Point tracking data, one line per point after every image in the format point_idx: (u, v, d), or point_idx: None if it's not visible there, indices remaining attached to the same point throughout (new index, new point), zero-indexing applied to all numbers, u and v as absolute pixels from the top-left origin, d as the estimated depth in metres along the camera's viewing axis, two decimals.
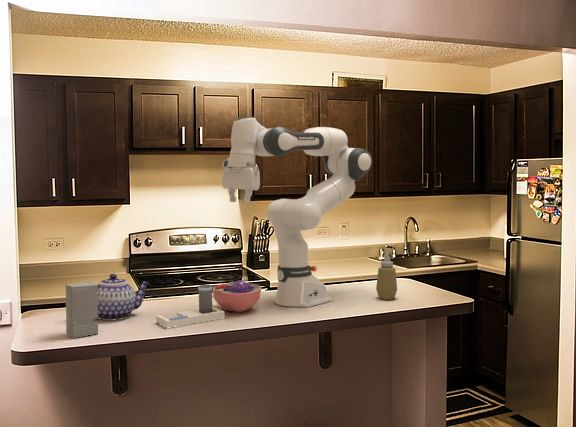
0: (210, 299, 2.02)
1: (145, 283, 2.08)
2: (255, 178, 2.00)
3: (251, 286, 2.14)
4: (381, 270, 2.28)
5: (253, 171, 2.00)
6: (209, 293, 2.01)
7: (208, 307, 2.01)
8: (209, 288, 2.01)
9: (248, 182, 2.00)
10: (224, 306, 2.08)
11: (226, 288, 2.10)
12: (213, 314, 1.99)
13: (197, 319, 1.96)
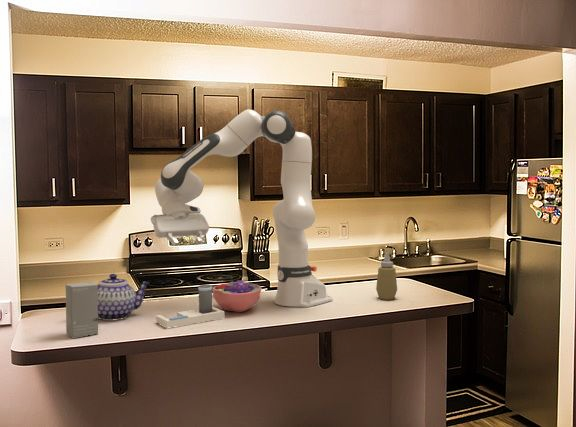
0: (210, 299, 2.02)
1: (145, 283, 2.08)
2: (154, 226, 2.10)
3: (251, 286, 2.14)
4: (381, 270, 2.28)
5: None
6: (209, 293, 2.01)
7: (208, 307, 2.01)
8: (209, 288, 2.01)
9: None
10: (224, 306, 2.08)
11: (226, 288, 2.10)
12: (213, 314, 1.99)
13: (197, 319, 1.96)
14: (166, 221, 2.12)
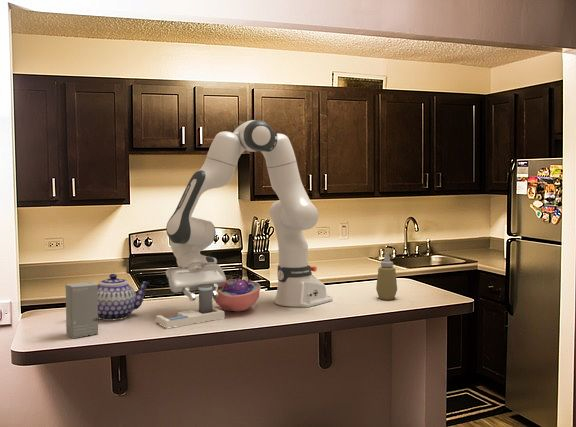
0: (210, 299, 2.02)
1: (145, 283, 2.08)
2: (169, 281, 2.01)
3: (250, 284, 2.13)
4: (381, 270, 2.28)
5: None
6: (209, 293, 2.01)
7: (208, 307, 2.01)
8: (209, 288, 2.01)
9: None
10: (224, 307, 2.08)
11: (225, 288, 2.09)
12: (213, 314, 1.99)
13: (197, 319, 1.96)
14: (182, 274, 2.03)
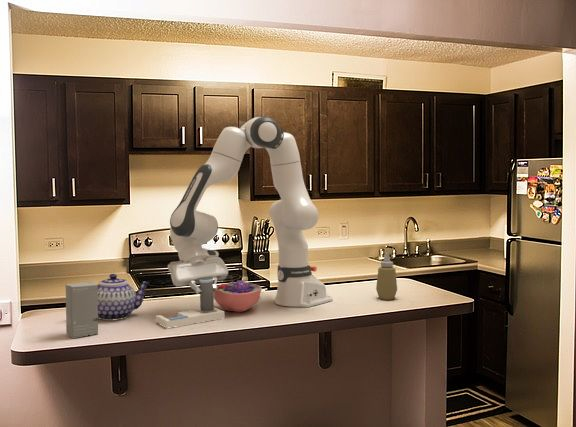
0: (211, 291, 2.02)
1: (145, 283, 2.08)
2: (172, 275, 2.01)
3: (251, 286, 2.14)
4: (381, 270, 2.28)
5: None
6: (210, 284, 2.01)
7: (209, 298, 2.01)
8: (210, 280, 2.01)
9: None
10: (224, 306, 2.08)
11: (226, 288, 2.10)
12: (213, 314, 1.99)
13: (197, 319, 1.96)
14: (184, 268, 2.03)
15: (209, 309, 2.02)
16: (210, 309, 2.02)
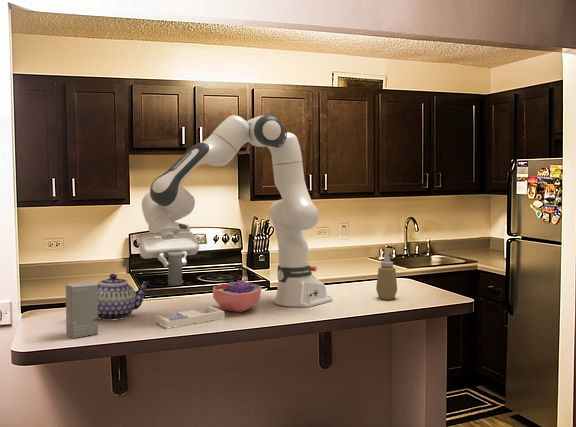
0: (180, 264, 1.95)
1: (145, 283, 2.08)
2: (140, 246, 1.94)
3: (251, 286, 2.14)
4: (381, 270, 2.28)
5: None
6: (179, 258, 1.94)
7: (178, 272, 1.94)
8: (179, 253, 1.94)
9: None
10: (224, 306, 2.08)
11: (226, 288, 2.10)
12: (213, 314, 1.99)
13: (197, 319, 1.96)
14: (152, 240, 1.96)
15: (177, 283, 1.94)
16: (178, 283, 1.94)
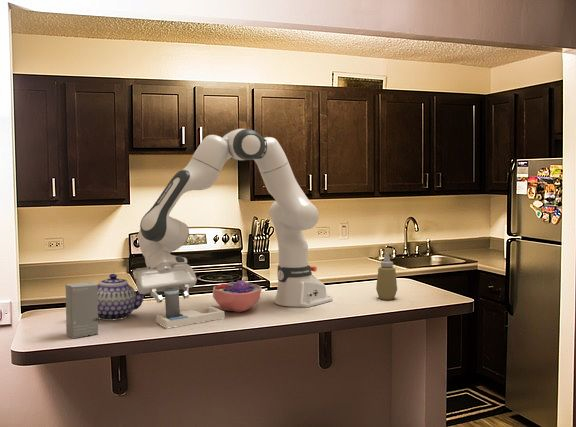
0: (177, 303, 1.95)
1: None
2: (137, 282, 1.94)
3: (251, 286, 2.14)
4: (381, 270, 2.28)
5: None
6: (176, 296, 1.94)
7: (175, 311, 1.94)
8: (175, 291, 1.94)
9: None
10: (224, 306, 2.08)
11: (226, 288, 2.10)
12: (213, 314, 1.99)
13: (197, 319, 1.96)
14: (150, 275, 1.96)
15: None
16: None
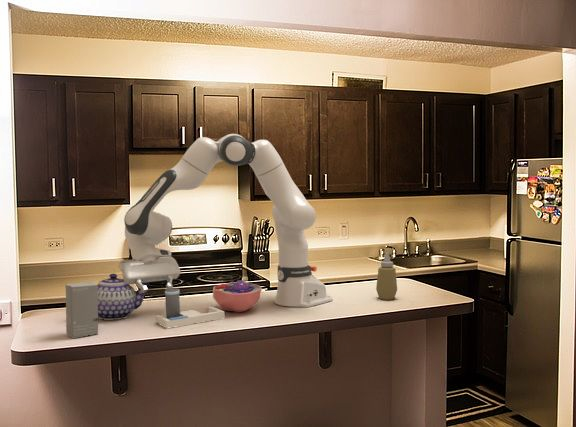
0: (177, 303, 1.95)
1: (145, 283, 2.08)
2: (123, 273, 2.04)
3: (251, 286, 2.14)
4: (381, 270, 2.28)
5: None
6: (176, 296, 1.94)
7: (175, 311, 1.94)
8: (176, 292, 1.94)
9: None
10: (224, 306, 2.08)
11: (226, 288, 2.10)
12: (213, 314, 1.99)
13: (197, 319, 1.96)
14: (135, 267, 2.06)
15: None
16: None
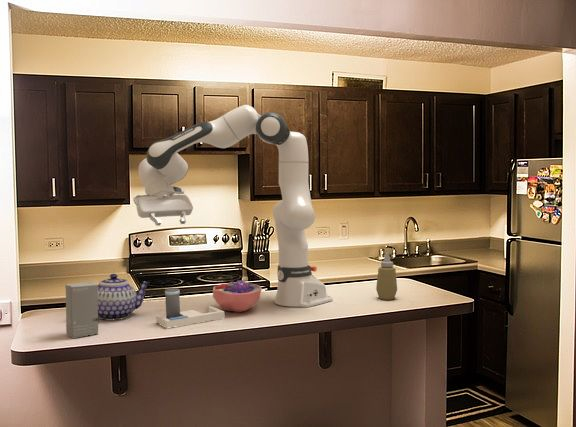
0: (177, 303, 1.95)
1: (145, 283, 2.08)
2: (137, 207, 2.09)
3: (251, 286, 2.14)
4: (381, 270, 2.28)
5: None
6: (176, 297, 1.94)
7: (175, 311, 1.94)
8: (176, 292, 1.94)
9: None
10: (224, 306, 2.08)
11: (226, 288, 2.10)
12: (213, 314, 1.99)
13: (197, 319, 1.96)
14: (149, 201, 2.11)
15: None
16: None
